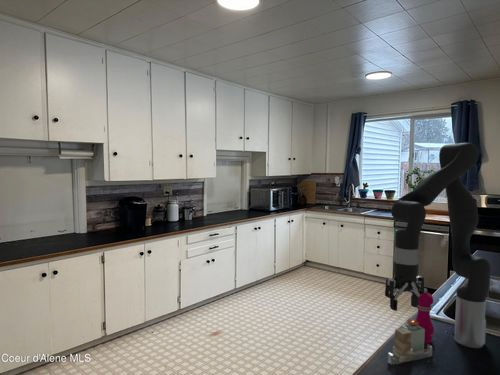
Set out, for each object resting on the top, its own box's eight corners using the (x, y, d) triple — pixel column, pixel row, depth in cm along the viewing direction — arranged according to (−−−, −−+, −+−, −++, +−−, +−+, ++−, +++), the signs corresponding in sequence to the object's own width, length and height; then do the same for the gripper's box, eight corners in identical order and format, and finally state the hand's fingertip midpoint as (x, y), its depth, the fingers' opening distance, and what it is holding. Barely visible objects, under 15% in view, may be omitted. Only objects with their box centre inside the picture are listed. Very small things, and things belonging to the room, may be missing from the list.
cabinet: (413, 343, 127) (413, 323, 127) (423, 350, 122) (424, 329, 122) (399, 346, 125) (400, 325, 125) (410, 353, 120) (411, 331, 120)
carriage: (404, 353, 118) (405, 327, 117) (412, 359, 115) (413, 332, 114) (392, 356, 116) (393, 329, 116) (400, 362, 113) (401, 334, 112)
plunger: (412, 333, 126) (413, 318, 126) (420, 338, 122) (421, 322, 122) (404, 335, 125) (404, 319, 124) (412, 340, 121) (413, 324, 121)
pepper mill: (409, 339, 130) (411, 288, 129) (416, 332, 136) (418, 283, 134) (429, 346, 125) (431, 293, 124) (436, 339, 130) (438, 288, 129)
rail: (428, 353, 120) (428, 344, 120) (431, 356, 119) (432, 346, 119) (387, 363, 115) (388, 353, 114) (391, 365, 113) (391, 355, 113)
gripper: (414, 256, 119) (412, 301, 120) (380, 259, 115) (379, 306, 116) (431, 262, 112) (429, 310, 113) (397, 265, 108) (395, 315, 109)
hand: (404, 308), depth 114 cm, fingers open, 8 cm apart
